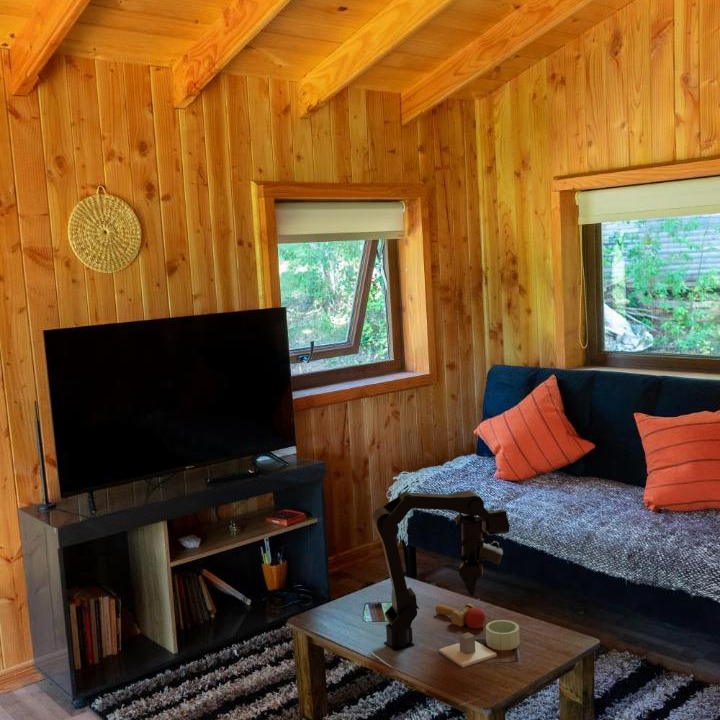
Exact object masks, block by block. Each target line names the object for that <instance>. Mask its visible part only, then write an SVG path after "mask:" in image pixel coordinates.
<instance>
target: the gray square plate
mask: <svg viewBox="0 0 720 720" xmlns="http://www.w3.org/2000/svg"><path fill="white" fill-rule="evenodd" d="M437 653H438V654H440V655H441V656H443V657H444V658H445V659H447V660H448V661H450V662H452V664H454V665H456V666H457V667H460V668H461V669H466V668H469V667H471V666H475V665H477V664H481V663H484V662H486V661H489V660H492V659H496V658H499V657H500V656H499V655H498V654H496V656H495V657H492V658H489V659H486V660H483V661H480V662H477V663H474V664H471V665H468V666H465V667H462V666H460V665H459V664H457V663H456V662H454V661H453V660H451V659H450V658H448V657H447V656H445V655H444V654H442V653H440V652H439V650H437Z"/></svg>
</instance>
